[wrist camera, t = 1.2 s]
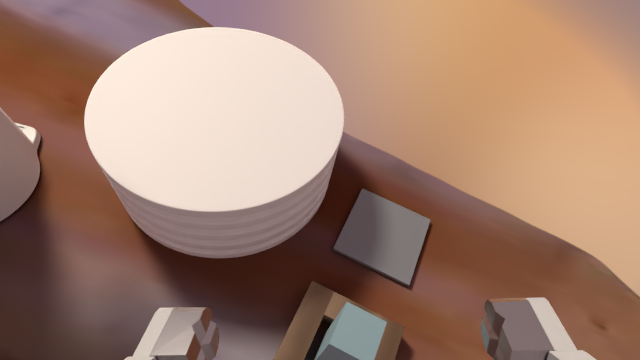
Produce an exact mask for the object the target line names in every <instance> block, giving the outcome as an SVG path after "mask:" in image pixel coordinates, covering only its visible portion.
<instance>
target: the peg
mask: <svg viewBox="0 0 640 360" xmlns="http://www.w3.org/2000/svg"><path fill="white" fill-rule="evenodd" d="M386 324H387V322H386V321H384V320H382V319H380V318H378V317H376V316H374V315H372V314H370V313H368V312H366V311H364V310H362V309H360V308H359V307H357V306H355V305H353V304H351V303H349V302H346V304H345V305H344V306H343V308H342V309H341V311H340V312H339V314H338V315H337V317H336V318H335V320H334V321H333V323H332V324H331V325H330V327H329V328H328V330H327V331H326V333H325V335H324V337H323V340H322V342H321V344H320V347H319V349H318V351H317V354H316V356H315V358H314V360H374V359H375V356H376V353H377V350H378V347H379V344H380V341H381V338H382V336H383V333H384V330H385V327H386Z"/></svg>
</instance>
